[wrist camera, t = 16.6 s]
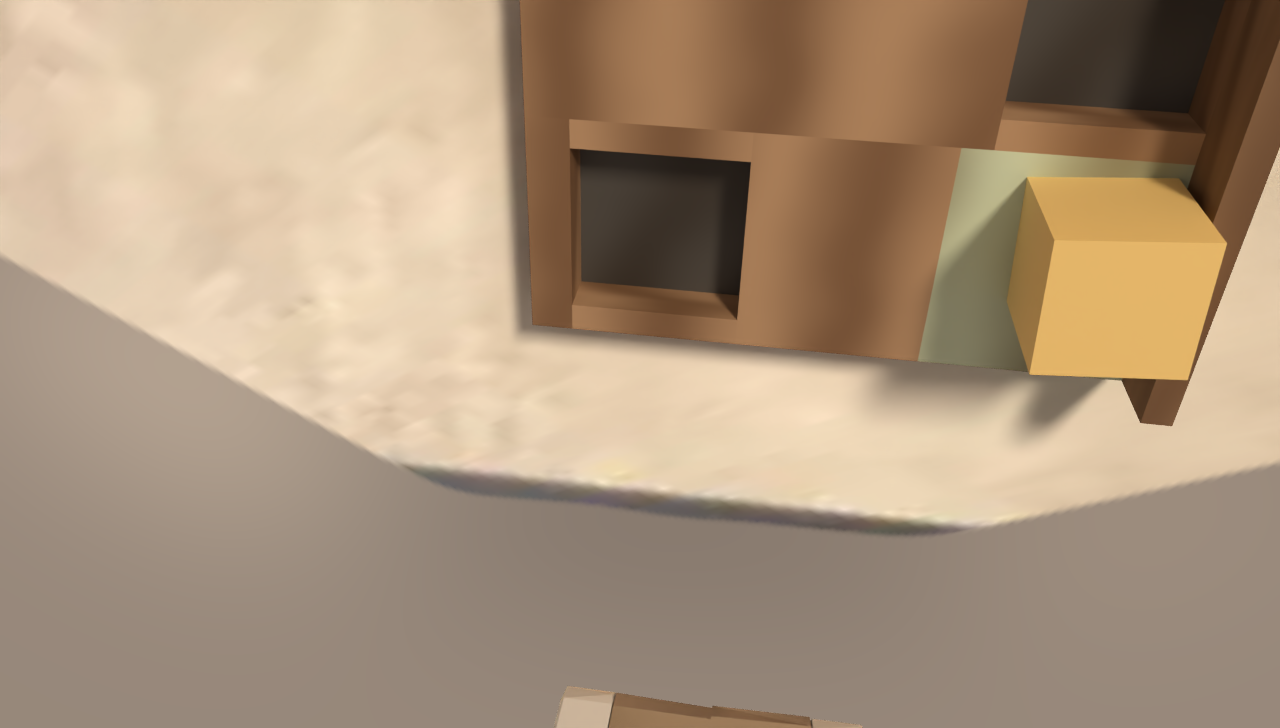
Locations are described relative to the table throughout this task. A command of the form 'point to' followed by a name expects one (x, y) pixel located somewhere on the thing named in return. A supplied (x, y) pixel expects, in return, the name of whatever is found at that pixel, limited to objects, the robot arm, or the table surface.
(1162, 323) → the block
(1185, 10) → the box
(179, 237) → the table surface
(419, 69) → the table surface
